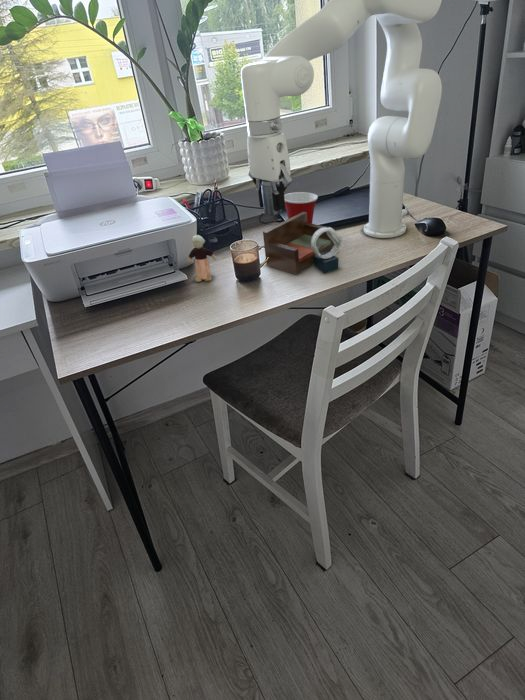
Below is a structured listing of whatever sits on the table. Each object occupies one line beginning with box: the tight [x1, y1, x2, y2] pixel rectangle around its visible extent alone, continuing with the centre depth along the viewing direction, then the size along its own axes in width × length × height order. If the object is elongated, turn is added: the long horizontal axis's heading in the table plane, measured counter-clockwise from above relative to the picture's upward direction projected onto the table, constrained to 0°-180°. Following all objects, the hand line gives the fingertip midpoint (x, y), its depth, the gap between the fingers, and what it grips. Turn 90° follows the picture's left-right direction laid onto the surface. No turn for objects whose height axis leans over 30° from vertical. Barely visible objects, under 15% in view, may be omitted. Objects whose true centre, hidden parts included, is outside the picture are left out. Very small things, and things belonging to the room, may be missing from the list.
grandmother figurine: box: [187, 234, 217, 283], centre depth 123 cm, size 8×4×13 cm, turn 99°
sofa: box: [262, 212, 335, 276], centre depth 128 cm, size 17×11×10 cm, turn 136°
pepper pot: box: [261, 180, 283, 216], centre depth 112 cm, size 4×4×8 cm
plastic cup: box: [284, 191, 319, 224], centre depth 143 cm, size 11×11×12 cm
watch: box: [311, 226, 343, 274], centre depth 122 cm, size 6×8×11 cm
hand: (272, 206), depth 114 cm, fingers closed on pepper pot, 4 cm apart
